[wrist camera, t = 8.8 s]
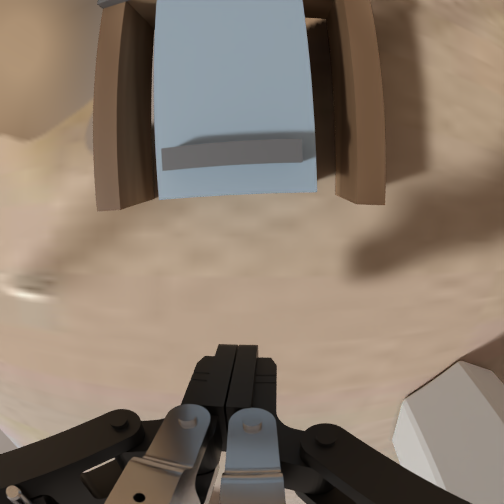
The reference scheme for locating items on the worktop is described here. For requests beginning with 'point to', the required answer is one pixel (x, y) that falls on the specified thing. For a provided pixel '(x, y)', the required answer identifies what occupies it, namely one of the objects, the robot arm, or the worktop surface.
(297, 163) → the blue slab with ledge
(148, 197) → the bay
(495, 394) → the soap bottle
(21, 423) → the worktop surface
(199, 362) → the robot arm
